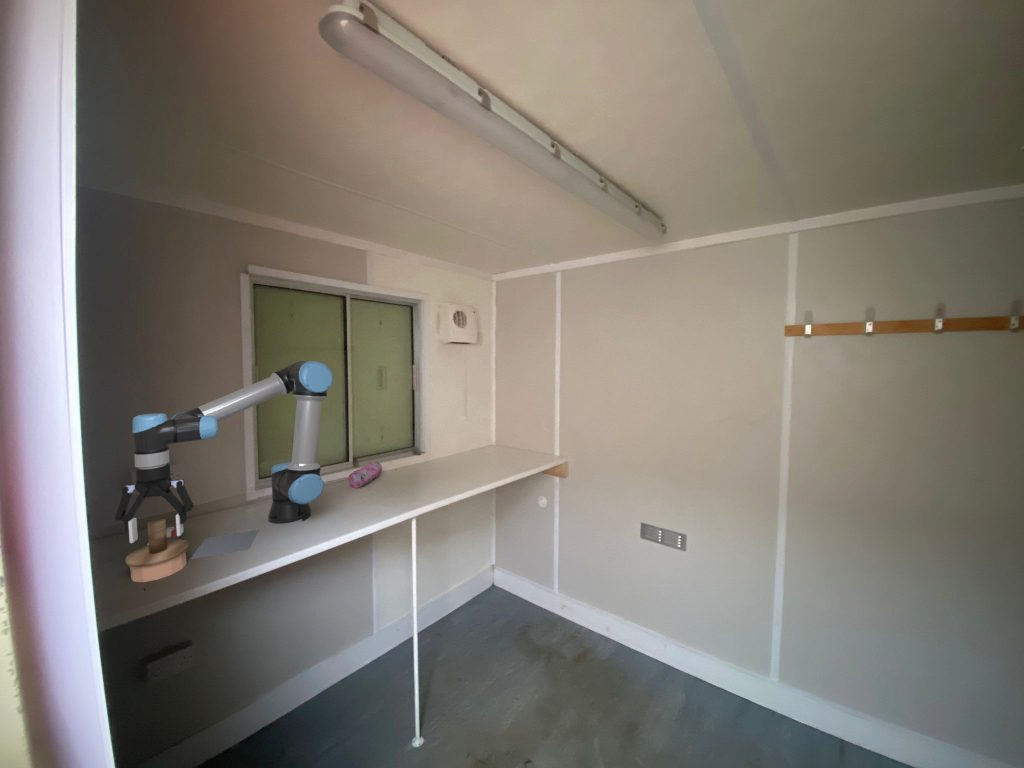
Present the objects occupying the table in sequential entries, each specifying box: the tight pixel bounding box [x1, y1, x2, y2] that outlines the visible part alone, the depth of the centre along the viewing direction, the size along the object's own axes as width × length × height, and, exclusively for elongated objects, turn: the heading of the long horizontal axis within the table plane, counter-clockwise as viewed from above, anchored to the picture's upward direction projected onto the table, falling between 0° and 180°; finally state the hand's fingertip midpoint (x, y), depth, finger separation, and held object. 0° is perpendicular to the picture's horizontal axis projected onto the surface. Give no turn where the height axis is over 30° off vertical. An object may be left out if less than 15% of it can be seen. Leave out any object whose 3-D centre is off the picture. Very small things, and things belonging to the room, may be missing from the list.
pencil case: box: [348, 460, 383, 489], centre depth 199 cm, size 21×9×9 cm, turn 171°
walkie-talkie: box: [146, 525, 183, 546], centre depth 133 cm, size 9×4×20 cm
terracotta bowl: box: [129, 551, 187, 583], centre depth 114 cm, size 12×12×6 cm
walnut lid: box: [125, 518, 190, 567], centre depth 114 cm, size 14×14×10 cm
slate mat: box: [188, 529, 259, 561], centre depth 131 cm, size 16×16×1 cm
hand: (157, 537), depth 114 cm, fingers open, 10 cm apart
